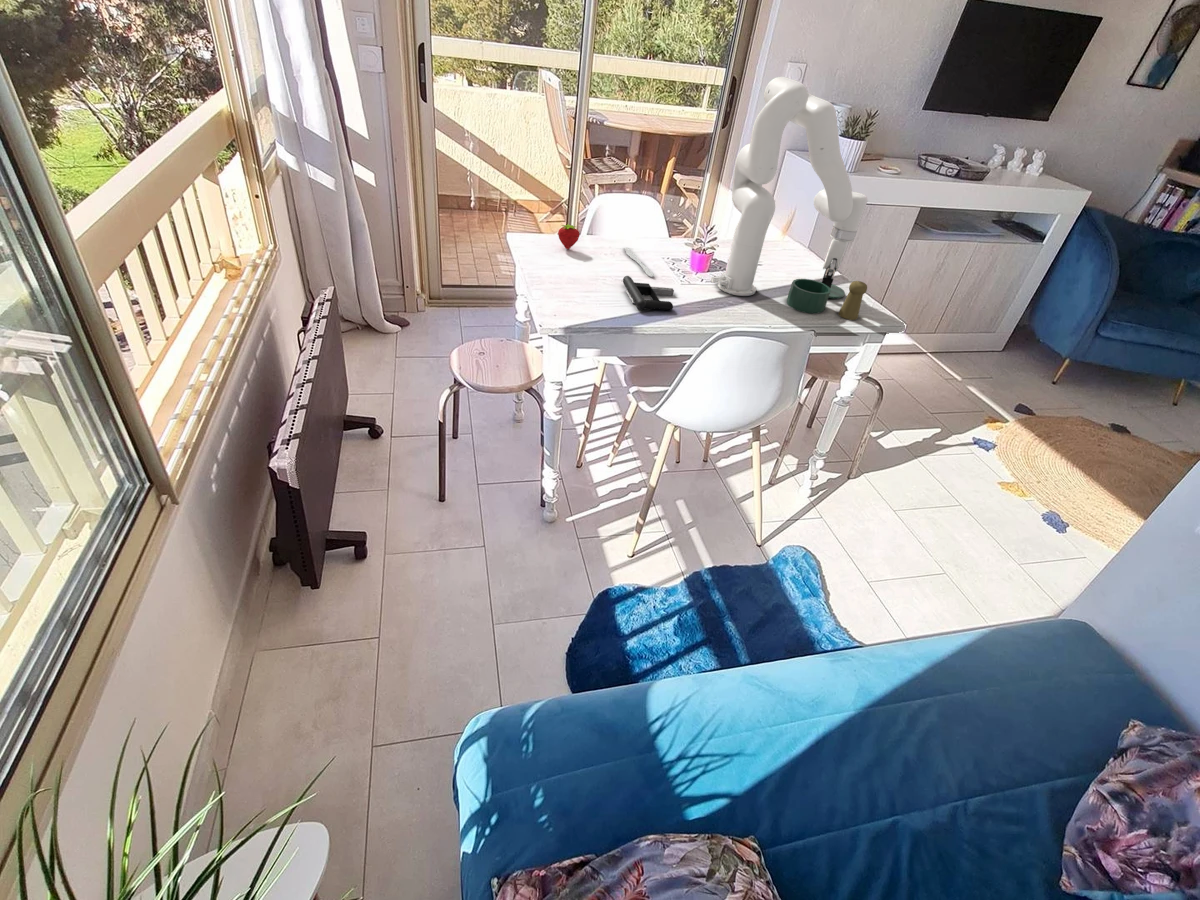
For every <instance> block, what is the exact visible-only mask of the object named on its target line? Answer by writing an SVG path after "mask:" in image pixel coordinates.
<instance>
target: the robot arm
mask: <svg viewBox="0 0 1200 900" xmlns="http://www.w3.org/2000/svg"><path fill="white" fill-rule="evenodd" d="M763 97H764V98H763V99H764V103H765V105H764V106H763V107H762V109H760V111H759V112H758V114H757V116H756V118H755V120H754V123H753V126H752V130H751V136H750V143H747V144H745V145H744V146H743V147H741V149H740V150H739V152H738V153H737V156H736V158H735V162H734V169H733V178H732V179H733V180H732V188H731V189H732V190H731V201H732V204H733V206H734V208H735V209H736V210H737V211H738V212H739V213H740V218H739V220H738V222H737V224H736V227H735V230H734V233H733V237H732V242H731V247H730V251H729V255H728V259H727V264H726V268H725V272H721V275H719V276H711V277H710V283H711V284H717V288H718V289H720V290H721V291H722V292H725V293H727V294H729V295H734V296H738V297H750V296H753V295H755V294H756V291H757V287H756V285H755V284H754V281H755V277H756V273H757V269H758V266H759V262H760V258H761V254H762V251H763V246H764V242H765V238H766V235H767V232H768V229H769V226H770V224H771V222H772V220H773V217H774V215H775V211H776V200H775V198H774V196H773V194H772V193H771V192H770V191H769V190H768V189H766V188H765V187H764V186H763V185H767V184H769V183H770V182H772V181H773V180H774V178H775V176H776V174H777V172H778V171H777V170H778V167H779V166H778V165H779V156H780V151H781V144H782V143H781V142H782V138H783V134H784V130H785V128H786V126H787V125H788V124H789V122H791V123H793V124H795V125H797V126H799V127H800V128H802V129H804V130H805V135H806V140H807V149H808V155H809V157H808V158H809V163H810V165H811V167H812V169H813V171H814V172H815V174H816V175H817V177H818V178H819V180H820V181H821V183H822V185H823V189H821V190H820V191H818V192H817V193H816V194H815V196H814V197H813V206H814V209H815V210H816V211H817V212H818V213H819V214H821V215H822V216H824V217H826V218H827V219H828V220H829V221H831V222H833V225H832V229H831V231H830V235H829V237H830V238H831V240H830V244H829V248H828V249H827V253H826V256H825V259H824V262H823V265H822V269H823V270H825V271H824V274H823V276H822V280H821V282H822V283H823V284H825V285H827V286H829V287H830V288H831V285H832V284H833V282H834V277H835V274H836V272H839V269H840V267H841V264H842V262H843V260H844V258H845V255H846V252H847V249H848V246H849V243H853V242H854V241H855V239H856V235H857V233H858V229H859V227H860V224H861V221H862V218H863V215H864V212H865V211H866V207H867V203H868V196H867V195H866V194H863V193H862V192H856V191H853V188H852V183H851V179H850V176H849V173H848V170H847V168H846V165H845V162H844V160H843V157H842V155H841V146H840V139H839V127H838V118H837V111H836V108H835V106H834V104H832V102H831V101H829V100H826V99H824V98H820V97H818V96H816V95H813V94H812V93H810V92H809V90H808V88H807V86H806V85H805V84H804V83H802V82H801V81H798V80H795V79H792V78H789V77H787V76H777V77H774V78H773V79H771V80H770V81H769V82H768V83H767V85H766V87H765V89H764V94H763Z"/></svg>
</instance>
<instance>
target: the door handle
mask: <svg viewBox="0 0 1200 900" xmlns="http://www.w3.org/2000/svg"><path fill="white" fill-rule="evenodd" d="M622 283H623V285H624V287H625V289H626V291H625V293H626V294H627V295H628V297H629V299H630V301H631V303H632V304H634V305H635V306H636V308H637V309H638V310H641V311H643V310H656V311H669V312H670V311H672V310H673V308H674V305H673V302H671V301H669V300H660V299H659V297H658V295H663V296H674V293H675V289H674V288H672V287H659V286H651V285H650V283H645V282H636V281H634V280H633V278H632V277H631V276H630V275H625V276H624V277H623V279H622ZM645 296H647V297H649V299H645V298H644V297H645Z"/></svg>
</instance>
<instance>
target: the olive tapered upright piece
mask: <svg viewBox="0 0 1200 900" xmlns="http://www.w3.org/2000/svg"><path fill="white" fill-rule="evenodd" d="M848 288H849V289H848V290H849V292H848V294H847V296H846V297H845V300H844V302H843V303H842V305H841V307H840V309H839V311H838V314H837V315H838V316H839V317H841V318H842V319H845V320H849V321H856V320H858V319H859V314H860V310H861V305H862V301H863V296H864V295H865V294H866V293H867V290H868V284H866V283H865V282H864V281H860V280H853V281H852V282H850V284H849V286H848Z"/></svg>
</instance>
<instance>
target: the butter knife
mask: <svg viewBox="0 0 1200 900" xmlns="http://www.w3.org/2000/svg"><path fill="white" fill-rule="evenodd" d="M624 249H625V253H626V255H627V257H629V258H631V259H632V260H633V261H635V262H636V263H637V264H638V265H639V266H640V267H641V268H642V270H643V272H644V273H645V274H646V275H647V276H648V277H651V278H655V273H653V271H652V270H651V269H649V268H648V267H647V266H646V265H645V264H644V263H643V262H641V260H640V259H639V258H638V257H637V256H636V255H635V253H634V252H633V251H632V250H631V249H630V248H629V247H625V248H624Z"/></svg>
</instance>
